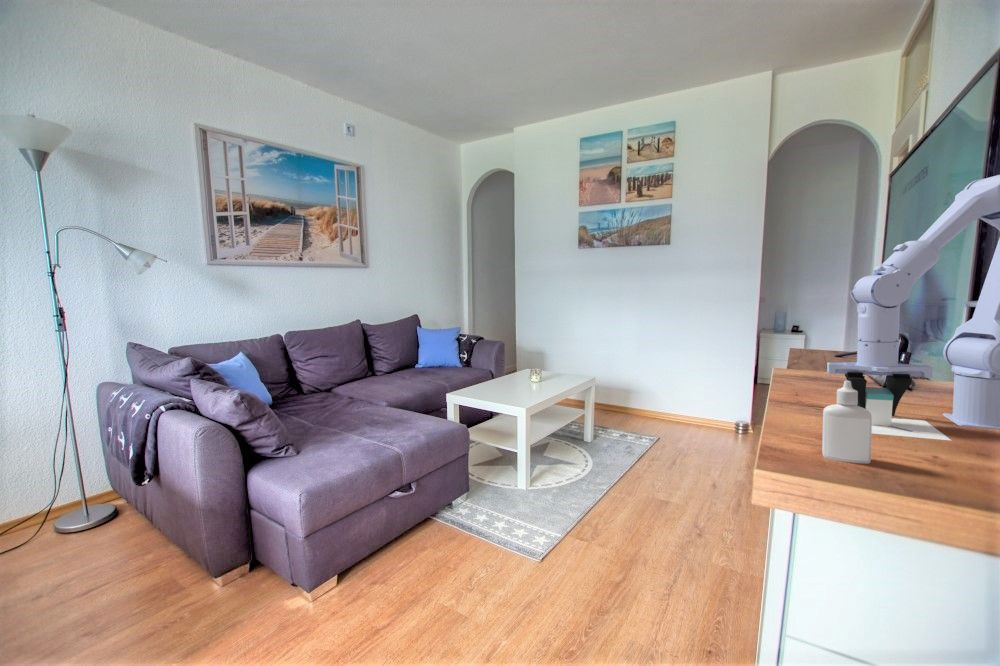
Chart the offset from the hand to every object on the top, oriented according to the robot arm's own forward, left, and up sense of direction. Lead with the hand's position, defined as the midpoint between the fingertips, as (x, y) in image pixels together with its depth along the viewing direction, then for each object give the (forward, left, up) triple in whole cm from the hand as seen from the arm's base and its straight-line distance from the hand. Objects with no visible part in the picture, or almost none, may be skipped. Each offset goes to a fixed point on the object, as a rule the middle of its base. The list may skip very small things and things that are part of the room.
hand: (875, 413), depth 81 cm
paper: (-2, +1, -2) cm, 3 cm away
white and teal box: (0, 0, -1) cm, 1 cm away
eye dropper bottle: (+8, +22, -2) cm, 24 cm away
